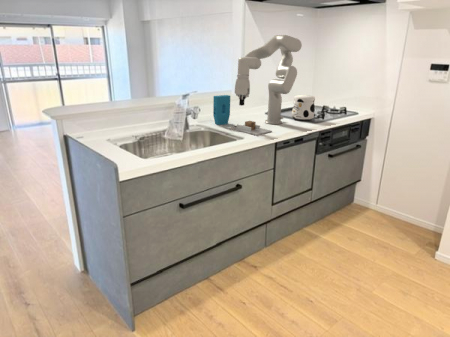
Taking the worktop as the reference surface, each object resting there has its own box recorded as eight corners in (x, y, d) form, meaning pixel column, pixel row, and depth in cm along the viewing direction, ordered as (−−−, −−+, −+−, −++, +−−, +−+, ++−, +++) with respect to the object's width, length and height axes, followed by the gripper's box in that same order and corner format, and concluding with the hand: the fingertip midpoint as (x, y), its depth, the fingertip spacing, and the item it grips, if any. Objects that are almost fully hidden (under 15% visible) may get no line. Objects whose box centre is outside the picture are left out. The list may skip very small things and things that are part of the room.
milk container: (287, 119, 263) (289, 96, 257) (297, 116, 275) (300, 94, 269) (306, 122, 252) (309, 98, 246) (317, 119, 265) (320, 96, 259)
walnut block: (249, 127, 228) (249, 120, 227) (255, 129, 225) (255, 121, 223) (244, 128, 225) (245, 121, 223) (250, 130, 222) (250, 122, 220)
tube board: (245, 125, 238) (245, 121, 237) (271, 131, 222) (272, 127, 221) (229, 128, 228) (229, 124, 226) (256, 135, 212) (256, 130, 211)
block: (216, 125, 237) (217, 96, 230) (212, 123, 241) (213, 95, 234) (230, 123, 244) (231, 95, 237) (226, 122, 247) (226, 94, 240)
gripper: (231, 76, 221) (229, 104, 227) (247, 78, 211) (246, 107, 218) (238, 76, 226) (237, 103, 232) (255, 78, 216) (253, 106, 223)
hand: (241, 105), depth 225 cm, fingers closed
